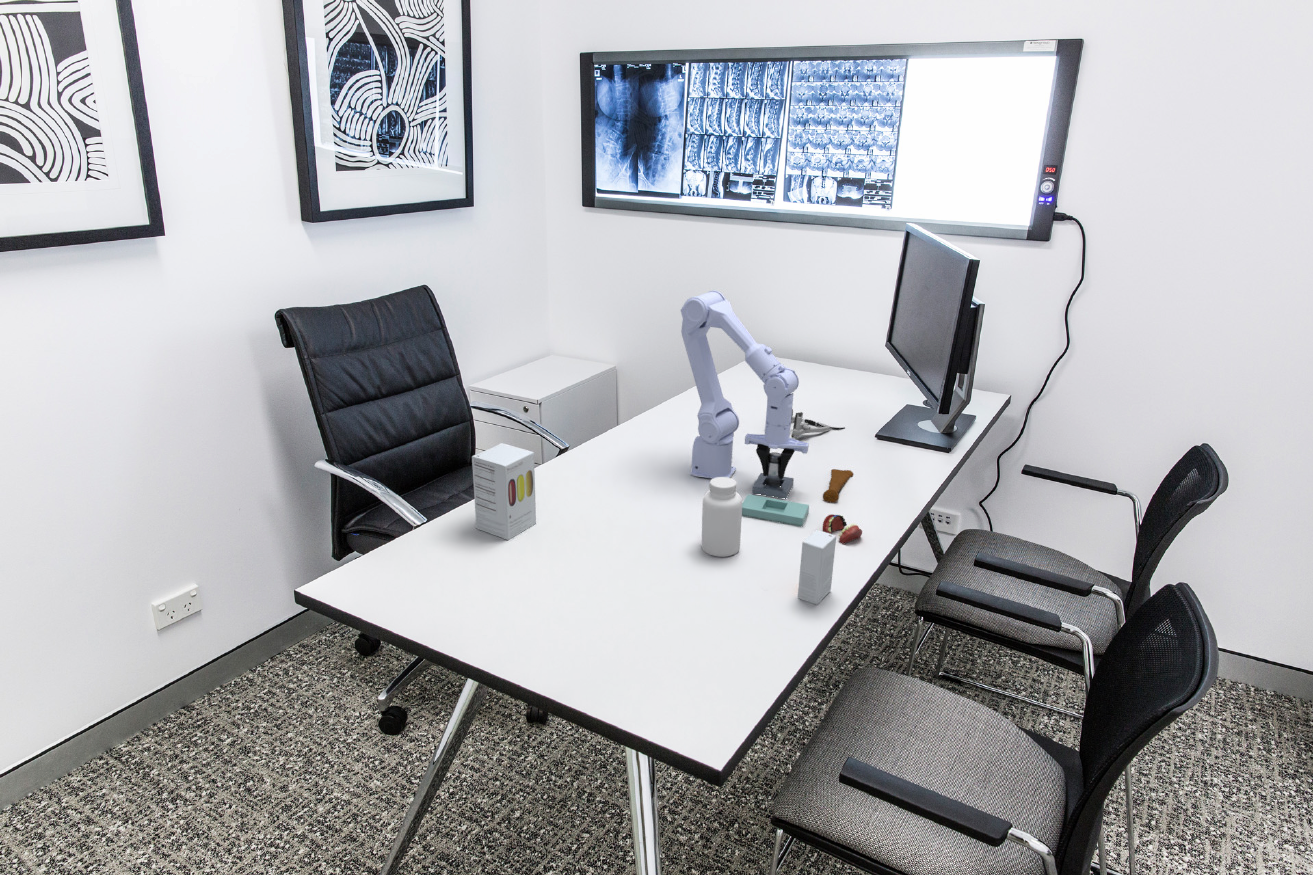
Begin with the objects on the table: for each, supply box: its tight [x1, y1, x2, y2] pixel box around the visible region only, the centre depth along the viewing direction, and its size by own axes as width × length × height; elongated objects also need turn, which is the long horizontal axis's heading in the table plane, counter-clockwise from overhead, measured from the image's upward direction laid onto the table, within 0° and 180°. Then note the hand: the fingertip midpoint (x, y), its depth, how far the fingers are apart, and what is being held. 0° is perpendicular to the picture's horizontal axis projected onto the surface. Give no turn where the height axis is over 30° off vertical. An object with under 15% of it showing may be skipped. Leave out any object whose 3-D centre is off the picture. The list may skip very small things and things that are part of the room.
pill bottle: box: [701, 477, 743, 558], centre depth 171 cm, size 8×8×15 cm
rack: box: [742, 493, 810, 527], centre depth 188 cm, size 14×7×2 cm, turn 70°
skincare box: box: [797, 529, 837, 605], centre depth 156 cm, size 6×4×12 cm
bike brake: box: [791, 408, 846, 440], centre depth 235 cm, size 14×7×20 cm
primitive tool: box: [822, 468, 854, 504], centre depth 202 cm, size 19×6×4 cm, turn 162°
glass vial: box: [766, 451, 781, 487], centre depth 198 cm, size 3×3×8 cm
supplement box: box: [471, 442, 537, 541], centre depth 177 cm, size 10×9×17 cm
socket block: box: [751, 472, 795, 500], centre depth 199 cm, size 8×8×2 cm
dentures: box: [822, 514, 863, 545], centre depth 179 cm, size 6×4×8 cm
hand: (773, 475), depth 198 cm, fingers closed on glass vial, 3 cm apart
